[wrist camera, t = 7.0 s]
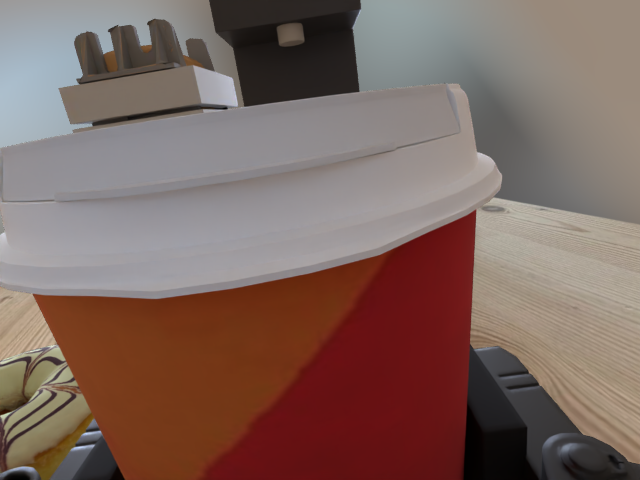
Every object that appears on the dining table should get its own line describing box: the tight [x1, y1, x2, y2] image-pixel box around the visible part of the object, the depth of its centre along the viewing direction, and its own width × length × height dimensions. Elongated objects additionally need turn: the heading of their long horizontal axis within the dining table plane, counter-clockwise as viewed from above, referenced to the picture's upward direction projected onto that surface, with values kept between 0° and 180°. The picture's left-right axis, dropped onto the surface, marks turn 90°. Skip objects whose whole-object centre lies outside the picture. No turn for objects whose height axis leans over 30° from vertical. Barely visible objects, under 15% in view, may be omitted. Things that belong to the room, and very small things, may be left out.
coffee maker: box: [209, 0, 361, 107], centre depth 41 cm, size 18×16×29 cm
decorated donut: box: [0, 344, 94, 480], centre depth 19 cm, size 10×11×4 cm
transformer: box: [59, 19, 238, 133], centre depth 103 cm, size 34×33×41 cm
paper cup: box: [0, 84, 502, 480], centre depth 8 cm, size 8×8×14 cm
